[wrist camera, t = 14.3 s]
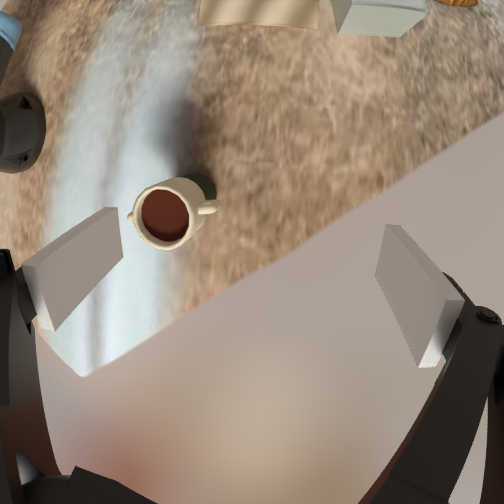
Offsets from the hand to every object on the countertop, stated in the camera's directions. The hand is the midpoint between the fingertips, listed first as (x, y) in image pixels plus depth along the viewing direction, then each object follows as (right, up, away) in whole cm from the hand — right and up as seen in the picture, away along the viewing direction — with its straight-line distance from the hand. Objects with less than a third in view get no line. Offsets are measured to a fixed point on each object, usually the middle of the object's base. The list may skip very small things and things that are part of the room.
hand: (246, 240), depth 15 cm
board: (+2, +36, +17) cm, 40 cm away
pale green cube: (+16, +33, +17) cm, 40 cm away
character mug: (-8, +8, +29) cm, 31 cm away
